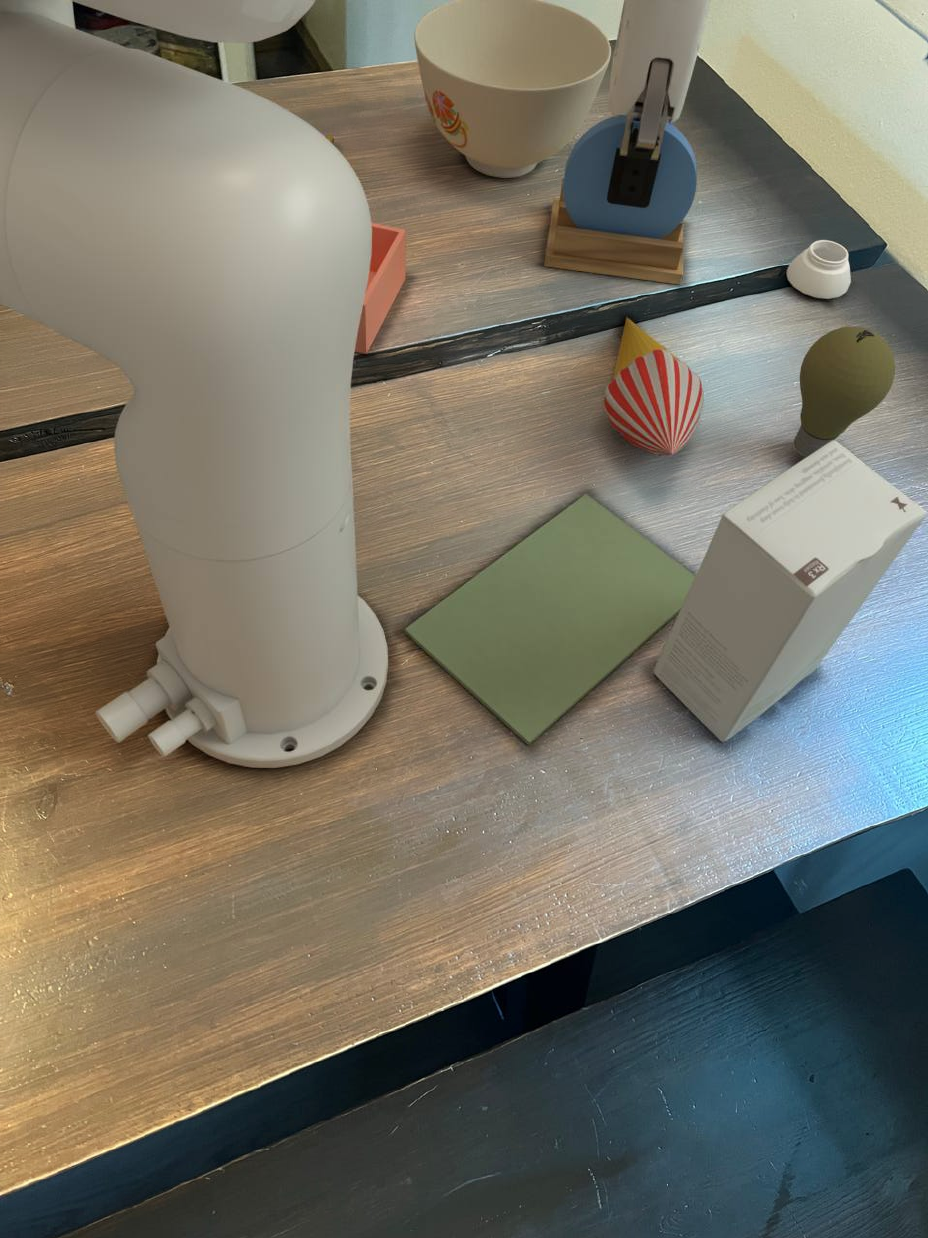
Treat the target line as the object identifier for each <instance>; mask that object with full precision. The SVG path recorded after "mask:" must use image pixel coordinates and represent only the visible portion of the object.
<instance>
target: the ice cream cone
mask: <svg viewBox="0 0 928 1238" xmlns="http://www.w3.org/2000/svg"><path fill="white" fill-rule="evenodd" d="M704 393H705V392H704V390H703V387H702V380H701V378H700V376H699V375H698V374H697V372H695V371H693V370H691V368H690V367H689V365H688V363H686V362H685V361H683V360H681V359H680V358H678V357H677V356H676V355H675V354H673V353H672V352H671V351H669V350H668V349H667V348H666V347H665V346H663V345H662V344H661V343H660V342H658V341H657V340H656V339H655V338H653V337H652V336H651V335H650V334H648V333H647V332H646V331H645V330H643V329H642V328H641V327H639V326H638V324H636V323H635V322H634V321H632V320H631V319H630V318H628V316H626V318H625V323H624V326H623V331H622V336H621V340H620V345H619V350H618V354H617V358H616V363H615V367H614V372H613V377H612V380H611V382H609V383H608V385H607V386H606V388H605V392H604V397H603V406H604V409H605V411H606V414H607V418H608V421H609V423H610V425H611V426H612V427H613V428H614V429H615V430H616V431H617V432H618V433H619V434H621V435H622V437H623V438H624V439H625V440H626V441H627V442H629V443H630V444H631V445H633V446H635V448H638V449H641V450H643V451H645V452H648V453H651V454H654V455H657V456H672V455H675V454H676V453H678V452H680V451H681V450H682V449H683V448H684V447H685V446H686V445H687V443H689V440H690V439H691V438H692V436H693V435H694V433H695V432H696V430H697V428H698V425H699V424H700V419H701V414H702V410H703V408H704V401H705V394H704Z"/></svg>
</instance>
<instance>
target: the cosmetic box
mask: <svg viewBox="0 0 928 1238" xmlns="http://www.w3.org/2000/svg"><path fill="white" fill-rule="evenodd" d="M927 514H928V511H927V510H926V509H925V508H923V507H921V506H920V505H919V504H917V503H916V502H915V501H914V500H912V499H911V498H909V496H907V495H906V494H905V493H904V492H902V491H901V490H899V489H898V488H897V487H896V486H894V485H893V484H892V483H890V482H889V481H888V480H886V479H885V478H884V477H882V476H881V475H880V474H878V473H877V472H875V471H874V470H873V469H872V468H870V466H868V465H867V464H865V463H864V462H863V461H862V460H860V458H858V457H857V456H856V455H855V454H854V453H852V451H850V450H849V449H848V448H847V447H845V446H843V445H842V444H840V442H838V441H837V440H835V441H834V440H832V441H831V442H829V443H827V444H826V445H824V446H823V447H821V448H820V449H818V450H817V451H815V452H814V453H812V454H811V455H809V456H808V457H806V458H805V457H804V458H803V459H801V460H800V461H799V462H797V463H795V464H794V465H793V466H791V467H789V468H787V469H786V470H785V471H783V472H782V473H781V474H779V475H777V476H776V477H774V478H773V479H772V480H770V481H768V482H767V483H765V484H764V485H763V486H761V487H760V488H758V489H757V490H755V491H754V492H752V493H751V494H749V495H748V496H746V497H745V498H743V499H742V500H741V501H739V502H738V503H736V504H735V505H733V506H732V507H730V508H729V509H727V510H726V511H725V512H723V513H722V515H721V517H720V519H719V522H718V525H717V527H716V529H715V531H714V534H713V536H712V539H711V541H710V543H709V546H708V549H707V551H706V552H705V555H704V557H703V559H702V561H701V564H700V566H699V567H698V570H697V572H696V574H695V575H694V576H695V578H694V580H693V583H692V585H691V587H690V589H689V591H688V594H687V596H686V598H685V600H684V603H683V605H682V607H681V609H680V612H679V613H678V614H677V617H676V618H675V621H674V622H673V625H672V627H671V629H670V632H669V634H668V636H667V638H666V641H665V642H664V645H663V648H662V650H661V652H660V655H659V657H658V658H657V661H656V663H655V666H654V668H653V671H652V672H653V674H654V675H655V676H656V677H657V678H658V680H659V681H660V682H661V683H662V684H663V685H664V686H665V687H666V688H667V689H668V690H669V691H670V692H671V693H673V695H675V697H676V698H677V699H678V700H679V701H680V702H681V703H682V704H683V705H684V706H685V707H686V708H687V709H688V710H689V711H690V712H691V713H692V714H693V715H694V716H695V717H696V718H697V719H698V720H699V721H700V722H701V723H702V724H703V725H704V726H705V728H707V729H708V730H709V731H710V732H711V733H712V734H713V735H714V736H715V737H716V738H717V739H718V740H719V741H720V742H721V743H726V742H727V741H729V740H730V739H731V738H733V737H734V736H736V735H737V734H738V733H739V732H741V731H742V730H744V729H745V728H746V727H747V726H749V724H751V723H752V722H754V720H756V719H757V718H759V717H761V715H762V714H764V713H765V712H766V711H768V710H769V709H770V708H771V707H772V706H774V704H776V703H777V702H778V701H780V700H781V699H782V698H784V697H785V696H786V695H788V693H790V692H791V690H793V689H794V688H796V686H797V685H798V684H799V683H800V682H801V681H803V680H805V678H807V677H808V676H809V675H812V673H814V672H815V671H816V669H817V668H818V667H819V665H820V664H821V662H822V661H823V659H825V657H826V656H827V655H828V653H829V652H830V651H831V649H832V647H834V645H835V643H836V642H837V641H838V639H839V638H840V636H841V635H842V634H843V632H844V631H845V629H846V628H847V627H848V625H849V624H850V623H851V621H852V620H853V618H854V617H855V616H856V614H857V613H858V611H859V610H860V608H861V607H862V606H863V605H864V603H865V601H866V600H867V599H868V598H869V596H870V595H871V593H872V592H873V590H874V589H875V588H876V587H877V585H878V584H879V582H880V581H881V580H882V578H883V577H884V575H885V574H886V573H887V571H888V570H889V568H890V567H891V565H892V564H893V563H894V561H895V560H896V559H897V557H898V555H900V553H901V551H902V550H903V549H904V547H905V546H906V545H907V543H908V542H909V541H910V539H911V538H912V536H913V535H914V533H915V532H916V531H917V530H918V528H919V526H920V525H921V523H922V522H923V521H924V520H925V518H926V516H927Z"/></svg>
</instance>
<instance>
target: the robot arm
mask: <svg viewBox="0 0 928 1238" xmlns="http://www.w3.org/2000/svg"><path fill="white" fill-rule="evenodd" d="M73 2H74V3H76V4H79V5H82V6H85V7H88V8H91V9H94V10H97V11H99V12H102V13H106V14H109V15H111V16H115V17H118V18H120V19H123V20H126V21H129V22H133V23H135V24H136V23H137V24H141V25H143V26H146V27H151V28H154V29H157V30H161V31H165V32H167V33H171V34H175V35H178V36H181V37H184V38H189V39H195V40H200V41H204V42H210V43H221V44H223V43H225V44H250V43H255V42H261V41H263V40H265V39H266V40H267V39H269V38H272V37H274V36H277V35H280V34H282V33H284V32H287V31H289V29H291V28H292V27H293V26H295V25H296V24H297V23H298V22H299V21H300V20H301V19H302V18H303V17H304V16H305V15H306V14H307V12H308V11H310V9H311V8H312V7H313V5H314V4H315V2H316V0H0V305H2V306H4V307H6V308H9V309H10V310H11V311H14V312H17V313H19V314H21V315H23V316H25V317H27V318H29V319H31V320H34V321H36V322H38V323H40V324H42V325H45V326H47V327H49V328H50V329H51V330H52V331H54V332H55V333H57V334H59V335H60V336H62V337H64V338H66V339H69V340H71V341H73V342H75V343H77V344H79V345H81V346H84V347H85V348H87V349H89V350H91V351H93V352H95V353H96V354H98V355H100V356H102V357H103V358H104V359H106V360H108V361H109V362H111V363H112V364H113V365H115V366H116V367H117V368H118V369H120V370H121V372H122V373H123V374H124V375H125V376H126V377H127V379H128V380H129V381H130V384H131V385H132V387H133V389H134V393H132V395H131V397H130V398H129V400H128V401H127V403H126V404H125V406H124V407H123V409H122V411H121V413H120V415H119V417H118V421H117V424H116V427H115V431H114V446H113V447H114V448H113V449H114V450H113V451H114V459H115V465H116V469H117V473H118V474H117V475H118V476H119V481H120V484H121V487H122V491H123V494H124V497H125V499H126V503H127V507H128V508H129V511H130V513H131V514H132V517H133V520H134V524H135V526H136V530H137V531H138V536H139V539H140V542H141V544H142V548H143V550H144V553H145V557H146V559H147V560H146V561H147V563H148V566H149V569H150V573H151V575H152V578H153V581H154V584H155V587H156V590H157V593H158V597H159V600H160V603H161V605H162V608H163V611H164V612H163V613H164V614H165V616H166V620H167V623H168V626H169V627H168V629H167V631H166V633H165V635H164V636H163V637H161V638H160V639H159V640H157V641H156V642H155V647H156V650H157V653H158V656H157V659H156V664H155V665H154V666H152V667H151V668H149V669H147V671H146V676H147V679H145V680H144V681H143V682H141V683H139V684H138V685H137V686H135V687H133V688H132V689H130V690H129V691H124V692H122V693H121V694H120V695H119V696H116V698H113V700H111V701H109V702H108V703H106V704H105V705H103V706H102V707H100V708H99V709H97V710H96V711H95V716H96V717H97V719H98V721H99V722H100V723H101V725H102V726H103V728H104V729H105V730H106V731H107V733H108V735H110V737H111V738H112V739H113V740H114V741H115V742H116V743H121V741H124V740H125V739H126V738H128V737H130V736H131V735H132V734H133V733H135V732H136V731H138V730H139V729H141V728H142V727H144V726H145V725H146V724H148V723H149V720H150V719H152V718H153V717H155V716H156V715H158V714H159V713H161V712H162V711H163V710H165V712H166V715H167V716H168V718H169V719H170V720H166V722H164V723H163V724H161V725H160V726H158V727H156V728H155V729H154V730H153V731H151V732H150V733H148V734H147V738H148V740H149V741H150V743H151V744H152V746H153V747H154V749H155V750H156V751H157V752H158V753H159V754H160V755H161V756H162V757H163V758H165V757H167V756H168V755H170V754H171V753H173V752H174V751H176V750H177V749H178V748H179V747H181V746H183V745H184V744H185V743H186V741H188V742H189V743H190V745H192V746H194V747H195V748H197V749H199V750H200V751H202V752H203V753H205V754H206V755H208V756H210V757H212V758H215V759H217V760H220V761H223V762H225V763H227V764H231V765H235V766H241V767H248V768H251V769H253V768H256V769H257V768H258V769H263V768H264V769H265V768H266V769H277V768H284V767H291V766H298V765H301V764H303V763H307V762H310V761H313V760H316V759H319V758H321V757H323V756H325V755H327V754H328V753H330V752H332V751H334V750H336V749H338V748H340V747H341V746H342V745H345V743H346V742H348V741H349V740H350V739H351V738H353V737H354V736H355V735H357V734H358V733H359V731H360V730H361V729H362V728H363V727H364V726H365V725H366V724H367V723H368V721H369V720H370V719H371V718H372V716H373V714H374V713H375V712H376V710H377V708H378V706H379V704H380V702H381V700H382V698H383V694H384V691H385V690H386V689H385V688H386V686H387V683H388V670H389V650H388V649H389V647H388V644H387V640H386V636H385V631H384V628H383V626H382V625H381V623H380V620H379V619H378V617H377V615H376V613H375V612H374V611H373V609H372V608H371V607H370V605H369V604H367V603H368V602H366V601H365V599H363V598H362V597H361V596H359V594H358V573H357V571H358V570H357V553H356V551H357V549H356V531H355V530H356V529H355V527H356V526H355V508H354V507H355V506H354V505H355V504H354V485H353V470H352V449H351V394H352V393H351V391H352V389H351V388H352V378H353V377H352V375H353V366H354V357H355V353H356V352H355V346H356V339H357V333H358V328H359V323H360V318H361V313H362V308H363V303H364V298H365V293H366V287H367V282H368V276H369V269H370V262H371V253H372V224H371V222H372V217H371V211H370V206H369V203H368V199H367V196H366V193H365V190H364V188H363V185H362V183H361V181H360V179H359V177H358V175H357V174H356V172H355V170H354V169H353V167H352V165H351V164H350V162H349V161H348V160H347V158H346V157H345V156H344V155H343V153H342V152H341V151H340V150H339V149H338V148H337V147H336V146H335V145H334V143H331V142H330V141H329V140H328V139H327V138H326V137H327V136H325V135H324V134H322V133H321V132H320V131H319V130H317V128H315V127H314V126H312V125H311V124H310V123H309V122H307V121H306V120H304V119H302V118H301V117H299V116H298V115H296V114H294V113H293V112H291V111H289V110H288V109H286V108H284V107H282V106H281V105H279V104H277V103H276V102H274V101H271V100H269V99H267V98H265V97H263V96H261V95H258V94H257V93H255V92H252V91H250V90H248V89H246V88H243V87H241V86H239V85H235V84H232V83H230V82H227V81H224V80H222V79H219V78H217V77H213V76H211V75H208V74H205V73H204V72H200V71H198V70H196V69H192V68H189V67H187V66H184V65H182V64H179V63H176V62H174V61H171V60H169V59H166V58H163V57H162V56H161V57H160V56H158V55H155V54H153V53H150V52H147V51H145V50H142V49H137V48H130V47H126V46H124V45H120V44H119V43H115V42H112V41H110V40H107V39H105V38H102V37H99V36H96V35H93V34H91V33H89V32H85V31H83V30H80V29H77V28H76V22H75V14H74V4H73ZM711 2H712V0H623V5H622V10H621V15H620V21H619V26H618V33H617V37H616V42H615V45H614V52H613V56H612V62H611V71H610V80H609V93H608V110H609V113H611V115H612V117H613V116H615V117H617V115H627V116H626V121H625V127H624V132H623V137H622V142H621V148H616V153H615V158H614V163H613V168H612V173H611V178H610V183H609V188H608V193H607V201H608V202H609V203H611V204H617V205H625V206H632V207H640V208H646V207H648V206H649V204H650V199H651V195H652V191H653V187H654V183H655V178H656V174H657V170H658V166H659V162H660V157H661V154H660V149H661V144H662V140H663V135H664V131H665V126H666V122H669V123H670V124H673V123H675V122H676V121H677V120H678V119H680V116H681V114H682V111H683V108H684V105H685V101H686V99H687V98H686V97H687V95H688V91H689V87H690V84H691V80H692V76H693V72H694V69H695V65H696V61H697V57H698V54H699V49H700V46H701V42H702V38H703V35H704V30H705V26H706V21H707V18H708V13H709V11H710V6H711ZM634 121H640V125H639V128H634V130H633V132H632V129H633V124H634ZM290 749H291V751H287V750H290Z"/></svg>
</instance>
